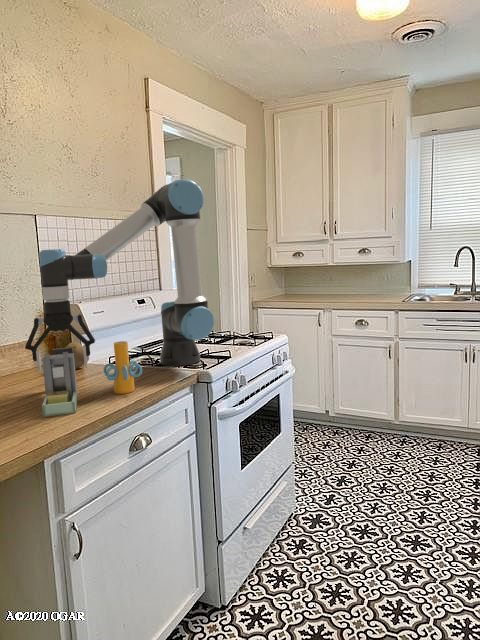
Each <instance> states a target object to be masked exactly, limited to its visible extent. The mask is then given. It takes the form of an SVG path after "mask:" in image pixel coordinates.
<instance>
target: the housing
mask: <svg viewBox="0 0 480 640" xmlns="http://www.w3.org/2000/svg"><path fill="white" fill-rule="evenodd" d="M41 363H42V369H43V370H42V371H43V372H42V373H43V381H44V389H45V396H46V395H48V394H49V392H57V391H66V390H69V400H70V402H72V398H73V392H76V396H77V400H78V397H79V395H78V386H77V385H78V383H77V375H76V374H77V373H76V369H75V362H74V353H70V354H68V352H63V354H60V355H53V354H52V355H51V354H50V353H44V354H43V358H42V360H41ZM54 364H64V371H65V376H64V377H57V378H53V369H52V368H53V365H54Z"/></svg>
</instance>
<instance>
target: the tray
mask: <svg viewBox="0 0 480 640" xmlns="http://www.w3.org/2000/svg"><path fill="white" fill-rule="evenodd" d="M77 405H78V399H77V396H76V392H73V398H72V402H63V403H55V404H48V400H47V395H46V394H45V397H44V400H43V402H42V404H41V410H42V417H43V418H45V417H46V418H47V417H54V416H63V415H70V414H76V412H77Z"/></svg>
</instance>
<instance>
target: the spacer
mask: <svg viewBox="0 0 480 640" xmlns="http://www.w3.org/2000/svg"><path fill="white" fill-rule="evenodd" d="M47 400H48V404H55V403H63V402H70V400H69V390H66V391H57V392H49V394H48V395H47Z"/></svg>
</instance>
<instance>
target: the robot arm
mask: <svg viewBox="0 0 480 640" xmlns="http://www.w3.org/2000/svg"><path fill="white" fill-rule="evenodd" d="M204 201H205V195H204V193H203V190H202V188H201V187H200V186H199V185H198V184H197V183H196V182H195V181H193V180H191V179H186V178H183V179H176V180H173V182H170V183H168V184H164V185H163V186H162V187H160V188H159V189H158V190H156V191H155V192H154V194H152V195H151V196H149V198H147V199H146V200H144V201H143V202H142V203H141V205H140V208H139V209H138V210H136V211H135V212H132V214H130V215H129V216H127V217H126V218H125V219H123V220H121V221H120V222H119V223H117V225H115V226H114V227H112V228H111V229H109V230H108V231H106V232H105V233H104V234H102V235H101V236H100V237H98V238H97V239H95V240H93V242H92V243H90V244H88V245H87V246H86V247H84V248H83V249H82V250H80V251H79V252H77V253H76V254H73V255H71V254H70V255H67V254H66V251H65V249H64V248H58V249H57V248H56V249H53V248H52V249H42V250H40V252H39V255H38V256H39V265H38V266H39V270H40V271H39V272H40V278H41V279H40V280H41V289H42V291H41V292H42V299H43V301H44V303H43V308H44V309H43V310H44V318H41V317H35V318H34V319H33V327H32V330H31V332H30V334H29V336H28V340H27V341H26V344H25V346H24V349H25V350H27V351H28V350H30V351H31V353H32V360H33V362H36V365H37V372H38V373H41V372H42V371H43V370H42V369H43V367H42V360H41V351H40V350H41V349H39V346H40V345H41V344H42V342H43V341H44V340H45V338H46V337H47V336H48V335H49V333H50V331H53V332H58V331H62V332H65V331H66V330H68V331H69V332H70V333H72V334H73V336H75V337H76V338H77V339H78V340H79V341H80V342H81V343H82V344H83V345H82V346H83V352H84V363H85V364H84V368H88V362H87V356H89V357H90V355H91V348H90V347H91V345H92V344H95V342H96V339H95V337H94V336H93V334H92V333H91V331H90V330H89V328H88V327H87V325H86V324H85V322H84V320H83V315H82V314H80V313H79V314H76V315H72V313H71V312H72V310H71V301H70V300H69V299H70V290H69V281H72V280H74V281H75V280H90V279H91V280H92V279H93V280H94V279H95V280H97V279H102V278H103V279H104V278H105V277H106V276H107V273H108V262H107V261H108V260H109V259H110V258H112V257H113V256H114V255H117V253H119V252H120V251H122V250H123V249H124V248H126V247H127V246H128V245H130V244H131V243H132V242H134V241H135V240H137V239H138V238H140V237H141V236H142V235H143V234H145V233H146V232H147V231H149V230H150V229H152V228H153V227H159V226H161V225H162V224H164V223H165V222H166V224H168V226H170V228H171V237H172V239H171V240H172V249H173V260H174V261H173V262H174V270H175V271H174V272H175V281H176V290H177V298H176V299H175V300H174V301H167V302H163V303H162V304H161V305H160V307H161V309H160V310H161V311H160V315H161V325H162V326H161V327H162V341H163V343H162V348H161V352H160V356H159V361H160V365H163V366H172V367H179V366H181V367H182V366H189V365H193V364H196V362H197V363H198V361H199V362H201V354H200V351H199V348H198V346H197V343H196V341H200V340H203V339H205V338H207V337H208V336H209V335H210V334H211V333H212V331H213V329H214V327H215V316H214V315H213V313H212V311H211V309H209V304H208V302H209V301H208V298H207V297H205V295H204V294H203V286H202V276H201V273H202V272H201V262H200V254H199V253H200V252H199V251H200V250H199V241H198V231H197V230H198V229H197V225H198V224H199V222H200V221H201V213H200V210H201V209H202V207H203V206H204ZM73 321H75V322H76V323H78V324H79V325H80V327H81V329H82V331H84V334H85V335H86V337H87V338H88V339H87V338H86V337H85V336H84V335H82V333H80V331H78V330H77V329H76V328H75V327H74V326H73V325H72V322H73ZM42 323H44V324H45V325H46V326H47V327H46V329H45V330H44V332H43V333H42V334H41V335H40V337H39V338H38V339H37V340H36V342H35V343H34V344H33V341H34V338H35V336H36V334H37V331H38V330H39V326H41V325H42Z"/></svg>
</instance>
